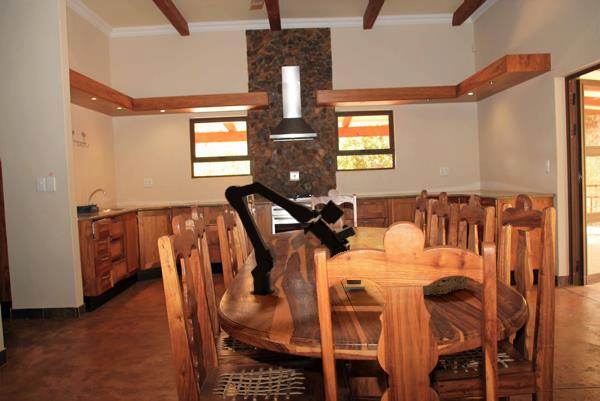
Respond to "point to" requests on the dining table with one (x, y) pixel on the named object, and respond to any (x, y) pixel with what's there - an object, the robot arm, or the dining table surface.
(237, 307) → the dining table surface
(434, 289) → the rock
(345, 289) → the stamping board
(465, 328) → the dining table surface
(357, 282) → the stamp
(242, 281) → the dining table surface
